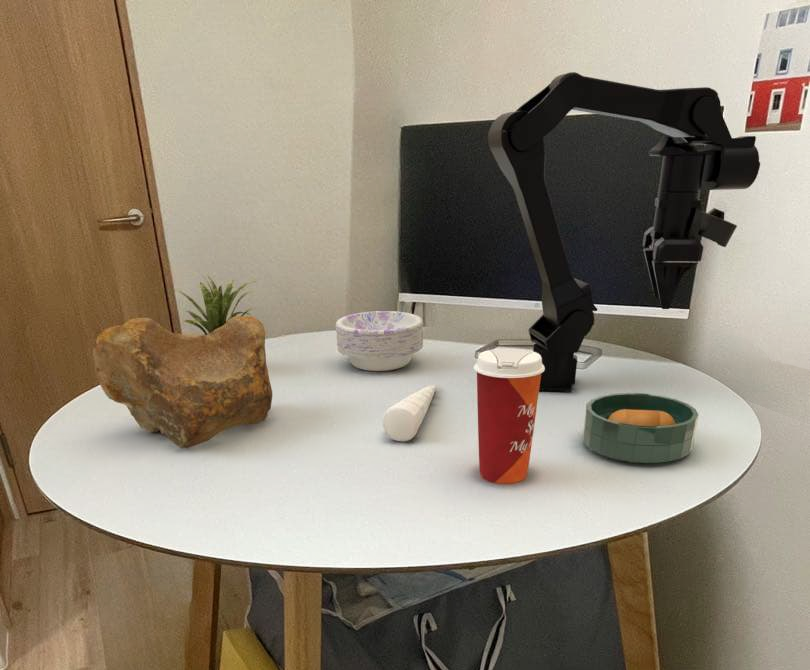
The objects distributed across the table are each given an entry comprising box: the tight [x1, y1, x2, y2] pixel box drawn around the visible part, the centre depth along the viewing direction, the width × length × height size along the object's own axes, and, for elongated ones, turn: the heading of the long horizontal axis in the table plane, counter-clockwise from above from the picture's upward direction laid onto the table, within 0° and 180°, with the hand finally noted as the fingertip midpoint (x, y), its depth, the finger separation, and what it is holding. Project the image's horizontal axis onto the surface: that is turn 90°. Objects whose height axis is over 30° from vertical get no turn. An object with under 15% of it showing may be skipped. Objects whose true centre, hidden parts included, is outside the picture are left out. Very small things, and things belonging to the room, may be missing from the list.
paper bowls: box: [335, 310, 424, 372], centre depth 124 cm, size 15×15×8 cm
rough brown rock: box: [92, 315, 273, 449], centre depth 94 cm, size 23×17×15 cm
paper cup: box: [473, 347, 545, 485], centre depth 80 cm, size 8×8×14 cm
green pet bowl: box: [582, 392, 699, 464], centre depth 88 cm, size 13×13×5 cm
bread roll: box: [608, 409, 675, 426], centre depth 88 cm, size 8×4×4 cm, turn 79°
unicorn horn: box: [382, 384, 437, 443], centre depth 101 cm, size 5×24×5 cm, turn 163°
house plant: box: [173, 275, 258, 335], centre depth 119 cm, size 14×14×16 cm
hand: (661, 303), depth 109 cm, fingers open, 9 cm apart
